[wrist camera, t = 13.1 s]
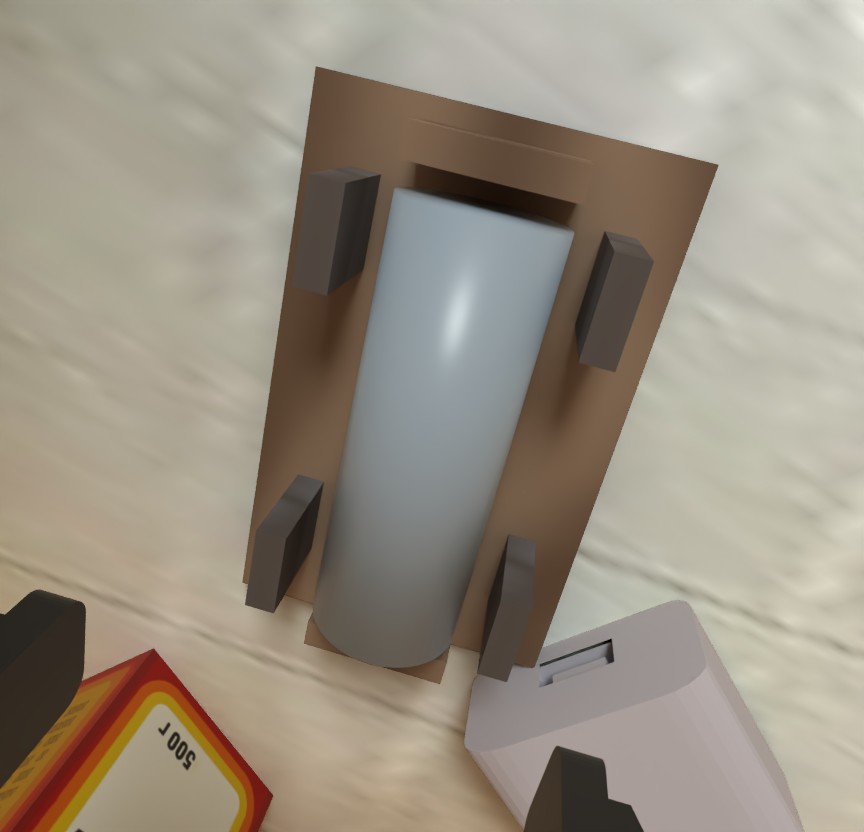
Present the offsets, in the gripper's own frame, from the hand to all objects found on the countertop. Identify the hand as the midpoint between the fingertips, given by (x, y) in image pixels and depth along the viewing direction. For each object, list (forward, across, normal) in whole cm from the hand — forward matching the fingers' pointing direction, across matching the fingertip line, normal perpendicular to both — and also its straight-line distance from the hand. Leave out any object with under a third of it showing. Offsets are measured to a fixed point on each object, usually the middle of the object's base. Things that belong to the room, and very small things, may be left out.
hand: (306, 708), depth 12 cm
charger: (+15, -13, +14) cm, 24 cm away
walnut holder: (+15, 0, 0) cm, 15 cm away
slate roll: (+14, 0, 0) cm, 14 cm away
